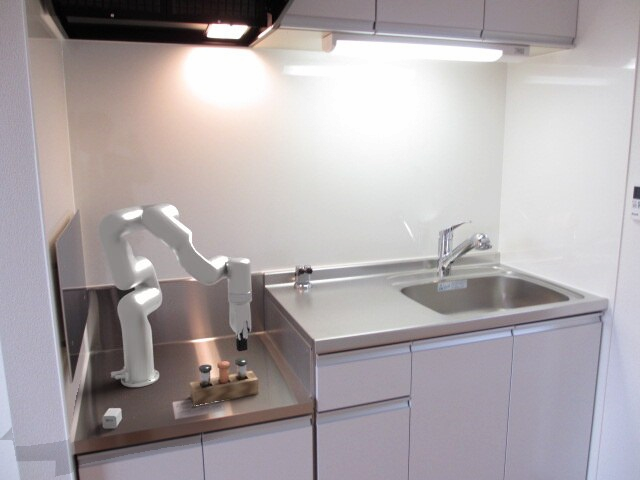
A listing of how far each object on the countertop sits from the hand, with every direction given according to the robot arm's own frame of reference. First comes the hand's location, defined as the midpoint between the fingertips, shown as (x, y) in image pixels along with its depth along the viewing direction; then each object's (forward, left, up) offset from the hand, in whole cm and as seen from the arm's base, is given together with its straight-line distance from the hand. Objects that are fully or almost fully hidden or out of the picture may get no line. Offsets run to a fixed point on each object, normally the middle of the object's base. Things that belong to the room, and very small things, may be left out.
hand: (242, 349), depth 168 cm
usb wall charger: (-40, -2, -15) cm, 43 cm away
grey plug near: (-12, 0, -11) cm, 16 cm away
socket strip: (-6, 0, -15) cm, 16 cm away
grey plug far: (0, 0, -11) cm, 11 cm away
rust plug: (-6, 0, -11) cm, 12 cm away
